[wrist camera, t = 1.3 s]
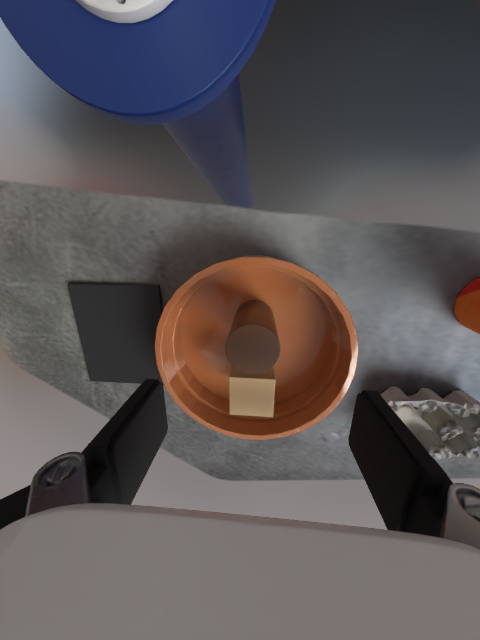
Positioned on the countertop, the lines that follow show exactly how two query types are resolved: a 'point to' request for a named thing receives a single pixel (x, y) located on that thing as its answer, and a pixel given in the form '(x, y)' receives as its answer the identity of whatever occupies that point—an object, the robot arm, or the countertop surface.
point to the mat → (118, 330)
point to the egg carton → (439, 420)
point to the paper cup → (469, 306)
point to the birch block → (251, 393)
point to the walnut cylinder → (253, 339)
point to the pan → (294, 335)
